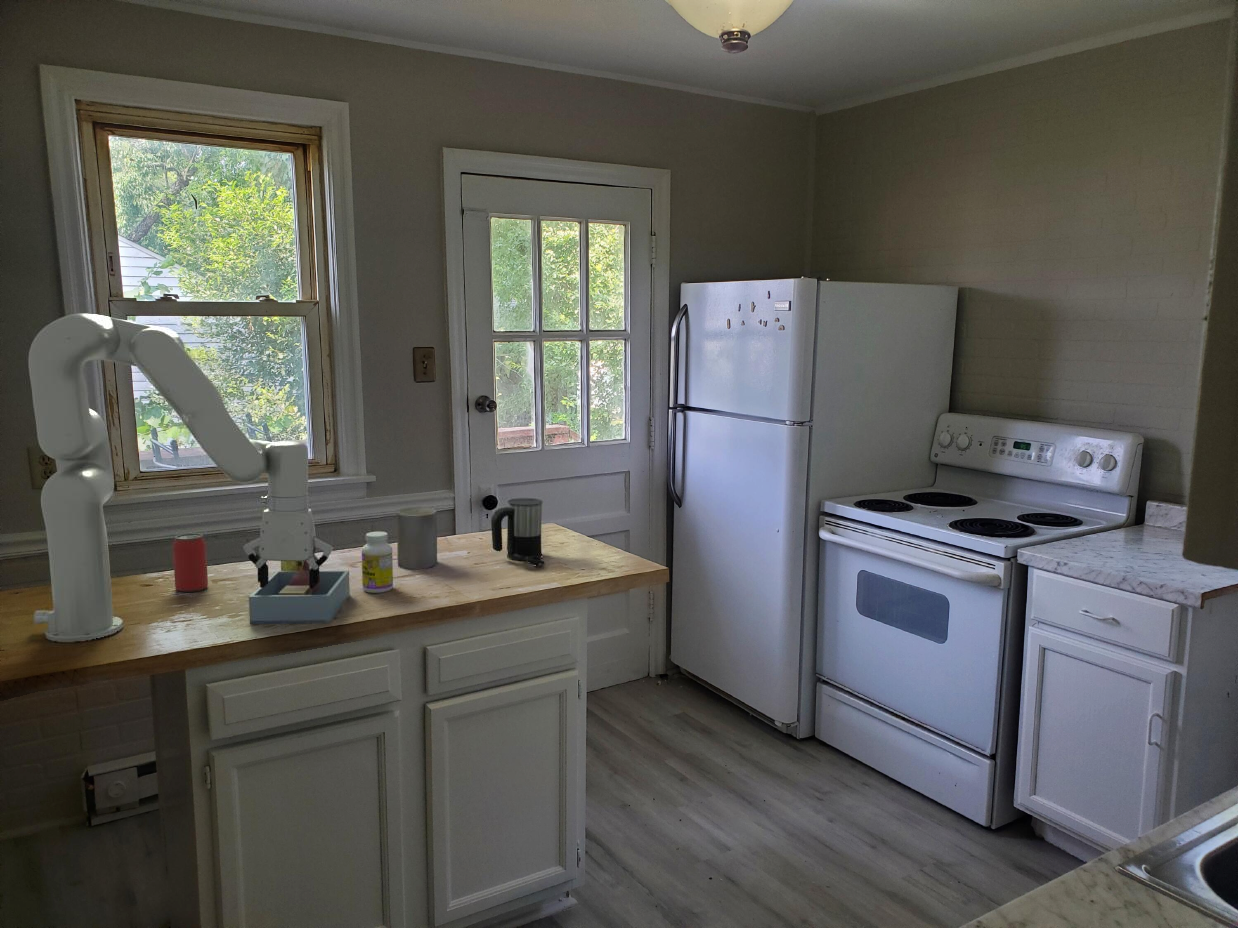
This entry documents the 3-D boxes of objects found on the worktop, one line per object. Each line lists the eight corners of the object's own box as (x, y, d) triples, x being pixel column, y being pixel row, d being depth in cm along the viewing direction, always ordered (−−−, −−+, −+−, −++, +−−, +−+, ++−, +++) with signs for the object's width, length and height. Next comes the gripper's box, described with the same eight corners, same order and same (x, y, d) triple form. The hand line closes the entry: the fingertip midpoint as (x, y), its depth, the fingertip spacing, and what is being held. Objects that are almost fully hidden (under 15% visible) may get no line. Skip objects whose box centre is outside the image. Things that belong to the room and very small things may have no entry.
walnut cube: (287, 609, 180) (286, 585, 179) (312, 609, 180) (311, 585, 180) (279, 616, 175) (278, 592, 174) (304, 616, 175) (303, 592, 175)
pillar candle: (398, 560, 222) (396, 502, 219) (437, 558, 224) (436, 501, 221) (397, 570, 212) (395, 510, 210) (438, 568, 215) (437, 509, 212)
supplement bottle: (356, 589, 197) (355, 533, 195) (382, 583, 201) (381, 528, 200) (373, 595, 192) (371, 538, 190) (399, 589, 197) (397, 533, 195)
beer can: (213, 588, 195) (210, 536, 193) (182, 594, 190) (179, 541, 189) (201, 582, 200) (198, 531, 198) (170, 588, 195) (167, 535, 193)
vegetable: (322, 602, 185) (320, 556, 183) (290, 605, 183) (288, 558, 181) (320, 594, 190) (319, 549, 189) (290, 597, 188) (288, 551, 187)
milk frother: (525, 550, 234) (525, 496, 232) (569, 560, 224) (569, 504, 222) (485, 560, 223) (485, 503, 221) (529, 572, 213) (530, 512, 211)
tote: (250, 623, 173) (248, 596, 172) (277, 595, 191) (276, 571, 190) (330, 622, 174) (329, 595, 173) (349, 595, 192) (348, 570, 191)
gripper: (237, 505, 171) (238, 590, 173) (328, 508, 172) (327, 592, 175) (250, 498, 178) (250, 580, 180) (337, 501, 180) (336, 582, 182)
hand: (288, 586), depth 177 cm, fingers open, 9 cm apart
